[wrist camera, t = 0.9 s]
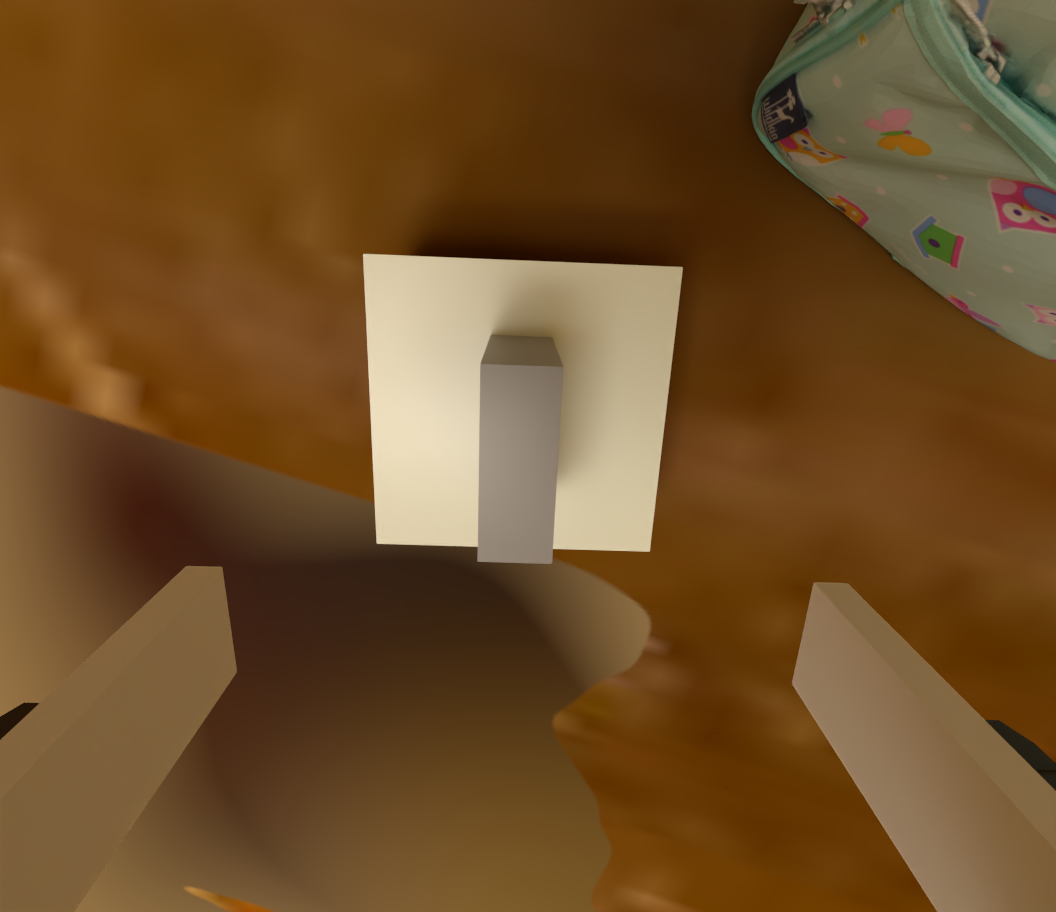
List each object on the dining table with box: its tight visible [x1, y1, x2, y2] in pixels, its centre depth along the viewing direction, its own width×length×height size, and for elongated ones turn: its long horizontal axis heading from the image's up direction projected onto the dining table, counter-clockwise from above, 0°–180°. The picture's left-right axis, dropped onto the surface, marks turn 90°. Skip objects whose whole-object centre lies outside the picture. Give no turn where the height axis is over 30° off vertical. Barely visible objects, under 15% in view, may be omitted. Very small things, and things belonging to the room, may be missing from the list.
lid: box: [363, 254, 683, 564], centre depth 27 cm, size 15×15×10 cm
